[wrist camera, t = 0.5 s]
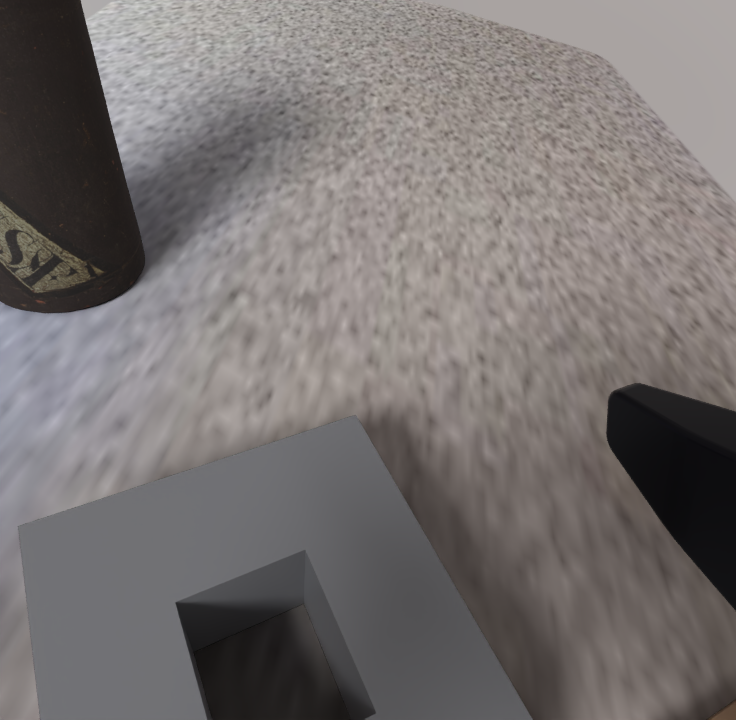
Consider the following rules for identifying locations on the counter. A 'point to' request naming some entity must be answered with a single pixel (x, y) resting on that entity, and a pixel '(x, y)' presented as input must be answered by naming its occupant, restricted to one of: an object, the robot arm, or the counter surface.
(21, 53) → the container
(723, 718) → the holster
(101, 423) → the counter surface
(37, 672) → the socket block
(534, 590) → the counter surface
